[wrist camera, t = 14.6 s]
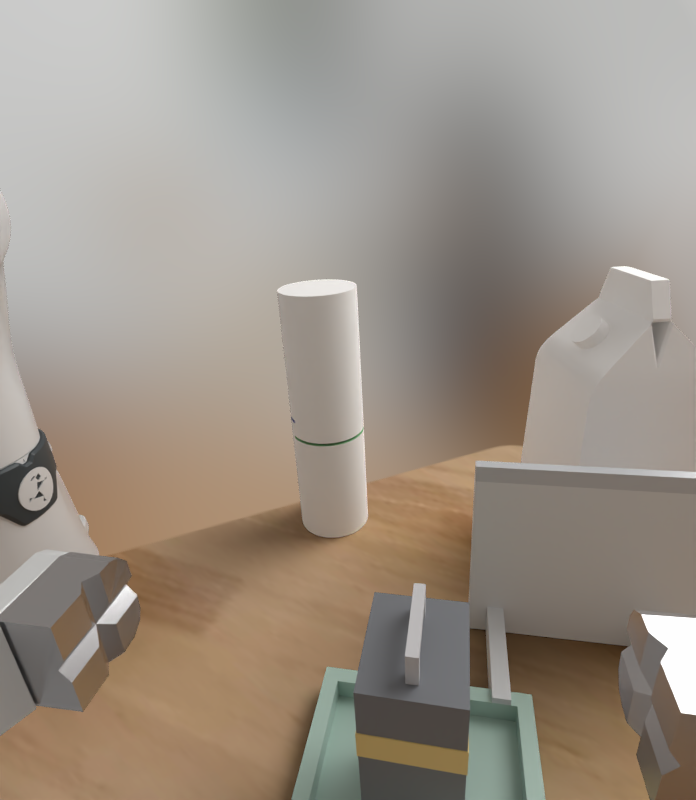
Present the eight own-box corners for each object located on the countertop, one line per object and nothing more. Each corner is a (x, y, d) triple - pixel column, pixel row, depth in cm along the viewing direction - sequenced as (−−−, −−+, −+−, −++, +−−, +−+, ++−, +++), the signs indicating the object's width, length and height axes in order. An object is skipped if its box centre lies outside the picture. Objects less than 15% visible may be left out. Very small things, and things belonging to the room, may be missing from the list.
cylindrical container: (355, 492, 61) (342, 276, 51) (377, 527, 55) (368, 289, 45) (295, 506, 59) (270, 285, 49) (311, 544, 53) (286, 300, 43)
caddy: (364, 858, 28) (349, 666, 22) (381, 745, 34) (372, 567, 28) (461, 879, 27) (473, 683, 21) (462, 759, 32) (471, 576, 27)
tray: (264, 939, 26) (259, 919, 25) (329, 685, 38) (326, 666, 37) (565, 1016, 23) (571, 995, 22) (529, 714, 35) (531, 694, 35)
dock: (469, 719, 35) (479, 539, 29) (467, 616, 43) (475, 457, 37) (735, 759, 32) (810, 566, 26) (680, 640, 40) (728, 470, 34)
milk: (690, 583, 45) (772, 283, 35) (559, 592, 45) (602, 294, 35) (619, 502, 56) (665, 256, 46) (513, 510, 56) (535, 265, 46)
